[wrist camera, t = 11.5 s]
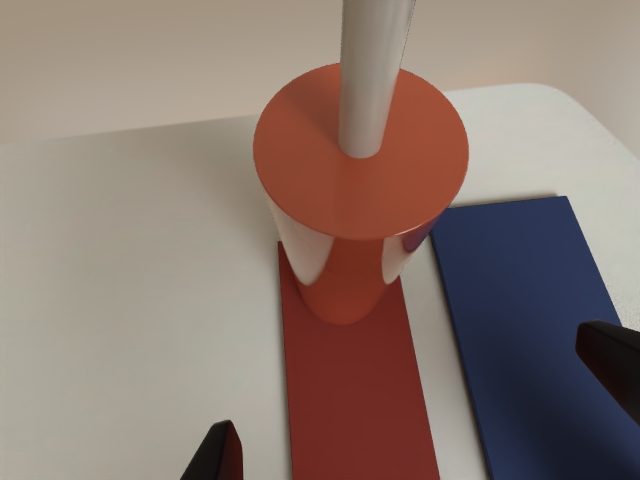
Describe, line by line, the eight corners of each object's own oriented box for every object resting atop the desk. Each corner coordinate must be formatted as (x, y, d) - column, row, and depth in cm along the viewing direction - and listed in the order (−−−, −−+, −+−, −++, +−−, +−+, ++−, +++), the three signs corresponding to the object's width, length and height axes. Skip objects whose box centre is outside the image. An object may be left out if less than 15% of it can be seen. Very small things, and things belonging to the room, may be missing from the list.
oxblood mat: (441, 499, 16) (445, 503, 16) (296, 517, 16) (295, 521, 16) (388, 231, 21) (390, 229, 21) (278, 243, 21) (277, 240, 21)
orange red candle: (397, 302, 19) (679, 16, 4) (321, 340, 18) (284, 182, 3) (357, 232, 21) (441, -167, 5) (286, 264, 20) (149, -85, 5)
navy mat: (733, 607, 14) (746, 615, 14) (528, 634, 14) (534, 642, 14) (561, 199, 22) (566, 195, 21) (424, 213, 22) (426, 210, 21)
